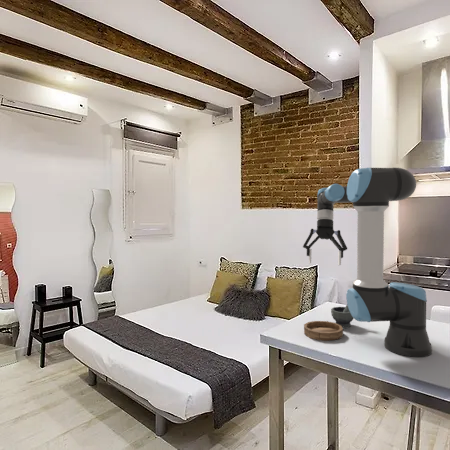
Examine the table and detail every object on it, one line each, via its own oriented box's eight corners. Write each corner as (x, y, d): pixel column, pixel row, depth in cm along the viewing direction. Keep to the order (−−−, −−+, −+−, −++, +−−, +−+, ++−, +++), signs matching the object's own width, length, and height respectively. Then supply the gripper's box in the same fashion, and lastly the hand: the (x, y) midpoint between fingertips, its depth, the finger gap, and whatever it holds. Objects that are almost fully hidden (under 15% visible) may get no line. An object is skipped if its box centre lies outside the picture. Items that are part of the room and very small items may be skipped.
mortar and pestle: (339, 329, 148) (339, 301, 147) (327, 323, 157) (326, 296, 156) (362, 327, 151) (362, 299, 150) (349, 320, 160) (349, 294, 159)
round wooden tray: (350, 337, 139) (350, 330, 139) (317, 342, 134) (317, 335, 134) (327, 326, 153) (327, 319, 153) (297, 330, 148) (297, 323, 148)
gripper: (349, 223, 172) (349, 266, 168) (298, 220, 175) (296, 263, 170) (353, 219, 165) (354, 264, 160) (300, 216, 167) (298, 261, 163)
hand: (324, 264), depth 165 cm, fingers open, 13 cm apart
